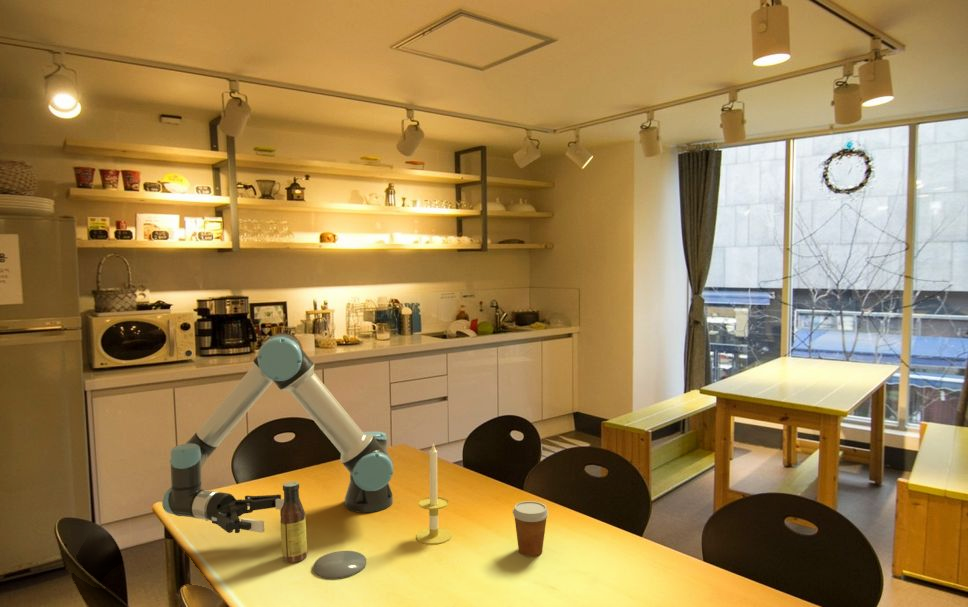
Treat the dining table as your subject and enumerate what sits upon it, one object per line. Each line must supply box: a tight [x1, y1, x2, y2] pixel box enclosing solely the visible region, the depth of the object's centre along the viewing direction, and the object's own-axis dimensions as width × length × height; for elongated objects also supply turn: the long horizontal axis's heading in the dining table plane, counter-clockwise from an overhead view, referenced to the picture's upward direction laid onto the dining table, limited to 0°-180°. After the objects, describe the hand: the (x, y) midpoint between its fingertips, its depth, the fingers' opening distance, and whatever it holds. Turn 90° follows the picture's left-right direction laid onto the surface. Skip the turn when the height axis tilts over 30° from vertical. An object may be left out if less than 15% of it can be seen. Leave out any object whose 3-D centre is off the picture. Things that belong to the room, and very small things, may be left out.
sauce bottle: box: [279, 480, 308, 564], centre depth 157 cm, size 7×6×20 cm
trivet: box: [313, 550, 367, 580], centre depth 154 cm, size 13×13×1 cm
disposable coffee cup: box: [512, 500, 550, 557], centre depth 161 cm, size 10×10×12 cm
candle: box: [416, 442, 452, 546], centre depth 170 cm, size 10×10×27 cm
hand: (280, 516), depth 158 cm, fingers open, 13 cm apart
